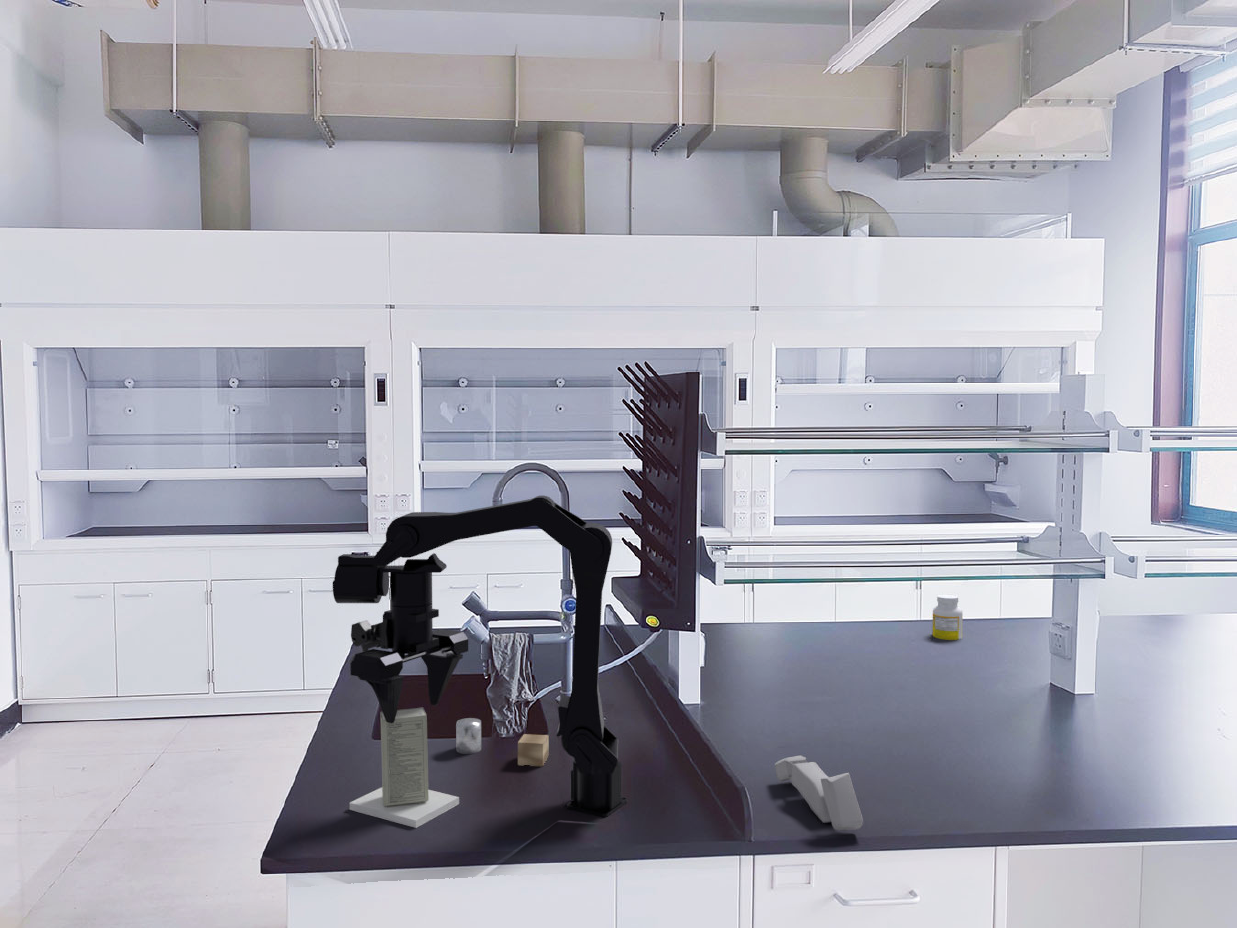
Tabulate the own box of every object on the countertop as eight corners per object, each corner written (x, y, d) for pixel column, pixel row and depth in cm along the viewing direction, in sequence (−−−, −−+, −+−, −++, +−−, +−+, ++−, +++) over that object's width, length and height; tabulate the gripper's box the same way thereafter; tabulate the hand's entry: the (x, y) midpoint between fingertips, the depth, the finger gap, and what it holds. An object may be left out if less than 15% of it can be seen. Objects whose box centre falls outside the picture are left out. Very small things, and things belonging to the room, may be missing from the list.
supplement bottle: (941, 645, 230) (942, 592, 229) (967, 651, 225) (968, 596, 224) (926, 650, 225) (927, 596, 225) (952, 655, 220) (953, 600, 220)
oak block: (548, 760, 153) (548, 735, 152) (542, 769, 149) (542, 743, 148) (524, 758, 153) (524, 734, 153) (517, 767, 149) (517, 742, 149)
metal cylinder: (486, 750, 157) (486, 720, 156) (471, 758, 153) (470, 727, 153) (466, 746, 159) (466, 716, 158) (451, 753, 155) (451, 723, 155)
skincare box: (425, 791, 137) (425, 706, 137) (429, 802, 132) (428, 714, 132) (380, 796, 135) (379, 710, 135) (382, 807, 131) (381, 718, 130)
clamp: (865, 833, 125) (864, 781, 125) (839, 837, 124) (838, 784, 124) (796, 784, 144) (796, 739, 144) (773, 786, 143) (773, 741, 143)
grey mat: (459, 804, 135) (459, 797, 135) (416, 827, 127) (416, 820, 127) (394, 787, 141) (394, 781, 140) (349, 809, 133) (349, 802, 133)
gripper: (411, 588, 146) (412, 689, 146) (319, 609, 129) (321, 723, 130) (470, 594, 140) (471, 699, 141) (381, 617, 124) (383, 736, 125)
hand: (412, 713), depth 134 cm, fingers open, 9 cm apart
